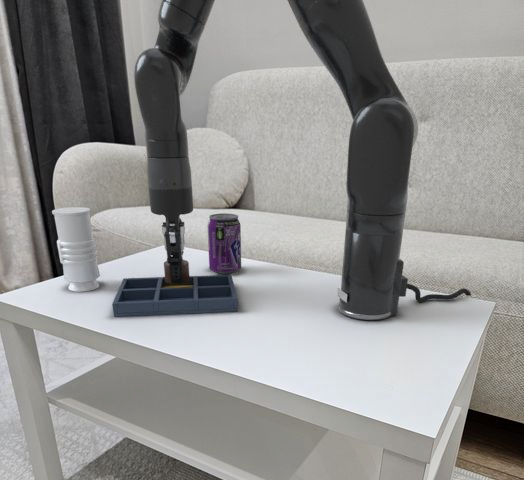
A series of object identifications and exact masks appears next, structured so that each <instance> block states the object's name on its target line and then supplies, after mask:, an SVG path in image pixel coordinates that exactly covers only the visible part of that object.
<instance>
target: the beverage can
mask: <svg viewBox="0 0 524 480" xmlns="http://www.w3.org/2000/svg"><path fill="white" fill-rule="evenodd" d="M208 218H209V220H208V222H207V243H208V244H207V245H208V246H207V248H208V267H209V270H210V271H213V272H215V273H216V274H219V275H231V274H234V273H236V272H238V271H239V270H241V269H242V235H241V233H242V231H241V229H242V228H241V222H240V220H239V215H238V214H235V213H222V212H221V213H214V214H209V216H208Z"/></svg>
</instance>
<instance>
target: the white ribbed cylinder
mask: <svg viewBox="0 0 524 480" xmlns="http://www.w3.org/2000/svg"><path fill="white" fill-rule="evenodd" d="M90 213H91V208H89V207H84V206H83V207H82V206H71V207H69V206H68V207H61V208H60V207H59V208H56V209H53V210H52V211H51V214H52V215H53V216H54V217H53V218H54V222H55V228H56V233H57V240H56V247H57V251H58V257H59V262H60V264H61V265H62V270H63V279H64V281H67V282H69V284H68V290H69V291H71V292H80V293H81V292H89V291H93V290H96V289H98V288H99V287H100V284H99V282H98V281H97V279H99V278H100V277H101V274H100V273H101V272H100V269H99V265H98V259H99V258H98V257H99V256H98V255H97V254H98V251H97V249H96V248H97V244H96V243H95V242H96V238H95V237H94V235H93V228H92V222H91V214H90Z"/></svg>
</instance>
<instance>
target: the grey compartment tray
mask: <svg viewBox="0 0 524 480" xmlns="http://www.w3.org/2000/svg"><path fill="white" fill-rule="evenodd" d="M189 277H190V280H189V281H188V282H186V283H183V284H169V283H166V282H165V276H155V277H154V276H153V277H126V278H125V277H124V278H122V281H121V283H120V285H119V287H118V290H117V292H116V293H115V297H114V299H113V301H112V304H111V305H112V311H113V312H112V313H113V317H115V318H117V317H142V316H162V315H163V316H164V315H184V314H185V315H187V314H208V313H210V314H211V313H233V312H234V313H235V312H238V311H239V304H238V303H239V300H238V295H237V291H236V287H235V283H234V279H233V275H232V274H213V275H211V274H210V275H189Z"/></svg>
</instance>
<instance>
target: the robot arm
mask: <svg viewBox="0 0 524 480" xmlns="http://www.w3.org/2000/svg"><path fill="white" fill-rule="evenodd" d="M286 1H287V4H288V5H289V8H290V9H291V11H292V14H293V15H294V17H295V20H296V22H297V24H298V26H299V28H300V30H301V32H302V34H303V35H304V37H305V39H306V41H307V42H308V44H309V45H310V47H311V48H312V50H313V51H314V53H315V55H316V56H317V58H318V59H319V61H320V62H321V63H322V65H323V66H324V67H325V69H326V70H327V72H328V73H329V74H330V75H331V77H332V78H333V80H334V81H335V83H336V84H337V86H338V88H339V89H340V92H341V93H342V96H343V98H344V100H345V103H346V105H347V108H348V110H349V112H350V115H351V117H352V120H353V121H352V123H351V127H350V131H349V135H348V137H349V138H348V149H347V162H346V163H347V166H346V167H347V168H346V181H345V182H346V183H345V184H346V185H345V186H346V190H345V191H346V195H347V204H346V205H347V207H346V219H345V231H344V244H343V255H342V267H341V269H342V270H341V279H340V280H341V281H340V288H339V287H337V292H336V293H337V294H336V296H337V297H338V298H339V302H338V303H339V304H338V311H339V312H340V313H341V314H343V315H344V316H347V317H348V318H351V319H352V318H353V319H357V320H362V321H378V320H379V321H380V320H385V319H388V318H390V317H395V316H396V317H397V315H398V309H399V302H400V301H399V300H400V298H401V297H402V298H404V297H406V296H407V290H410V291H412V292H414V294H415V297H414V298H415V301H416V302H418V303H424V302H426V301H429V300H444V301H445V300H453V299H456V298H458V297H460V296H461V295H463V294H464V295H465V296H466V297H467V296H468V297H471V296H472V293H471V291H470V290H468V289H467V288H461V289H460V288H459V289H458V290H457V291H455V292H453V293H451V294H437V293H436V294H435V293H430V294H426V295H424V296H421V290H420V289H419V288H418V287H417V286H415V285H414V284H411V283H408V281H409V278H407V277H406V276H405V275H403V273H404V272H403V271H404V265H405V264H404V263H405V262H404V261H403V259H401V258H400V257H401V251H402V250H401V249H402V243H403V236H404V235H403V234H404V226H405V220H406V219H405V218H406V211H407V206H408V200H409V199H408V197H409V195H408V190H409V189H408V188H409V178H410V171H411V169H410V168H411V161H412V153H413V148H414V146H415V144H416V141H417V137H418V131H419V126H418V119H417V117H416V113H415V112H414V110H413V109H412V108H411V106H410V105H409V103H408V102H407V100H406V98H405V97H404V95H403V94H402V92H401V90H400V89H399V86H398V85H397V83H396V81H395V79H394V77H393V76H392V74H391V72H390V71H389V68H388V66H387V64H386V62H385V60H384V57H383V54H382V52H381V49H380V47H379V43H378V40H377V37H376V34H375V31H374V27H373V24H372V21H371V18H370V15H369V13H368V10H367V7H366V5H365V3H364V0H286ZM215 2H216V0H161V1H160V5H159V9H158V14H157V22H158V26H159V28H158V29H159V30H158V34H157V37H156V40H155V44H154V47H151V48H147V49H145V50H143V51H142V52H141V53H140V54H139V55H138V57H137V59H136V61H135V64H134V70H133V71H134V72H133V79H134V81H133V83H134V88H135V94H136V99H137V104H138V108H139V112H140V116H141V119H142V122H143V126H144V139H145V150H146V175H147V176H146V177H147V186H148V197H149V208H150V212H151V213H152V214H154V215H157V216H164V217H165V221H163V222H162V225H161V232H162V235H163V242H164V243H163V244H164V250H165V252H166V257H167V258H166V261H168V263H169V264H170V276H171V283H172V284H181V283H183V271H182V262H183V260H184V259H183V256H184V253H185V252H184V250H185V233H186V226H185V221H183V220H182V218H181V217H180V216H181V215H182V216H183V215H184V216H185V215H188V214H191V213H193V211H194V199H193V198H194V197H193V181H192V168H191V163H190V157H189V140H188V139H189V137H188V131H187V126H186V123H185V122H184V120H183V118H182V109H181V96H182V95H183V94H184V92H185V91H186V89H187V87H188V84H189V82H190V78H191V76H192V73H193V68H194V65H195V61H196V57H197V53H198V47H199V43H200V40H201V37H202V35H203V33H204V30H205V28H206V26H207V23H208V20H209V17H210V15H211V12H212V9H213V7H214V4H215Z"/></svg>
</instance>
